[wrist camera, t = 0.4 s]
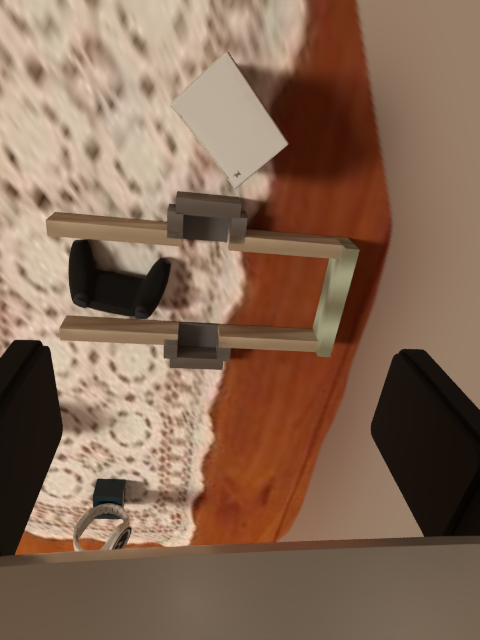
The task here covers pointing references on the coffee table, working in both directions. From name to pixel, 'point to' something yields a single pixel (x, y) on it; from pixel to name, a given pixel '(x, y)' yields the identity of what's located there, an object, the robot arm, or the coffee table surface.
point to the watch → (107, 513)
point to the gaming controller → (114, 285)
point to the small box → (229, 120)
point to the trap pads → (213, 232)
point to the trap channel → (238, 240)
